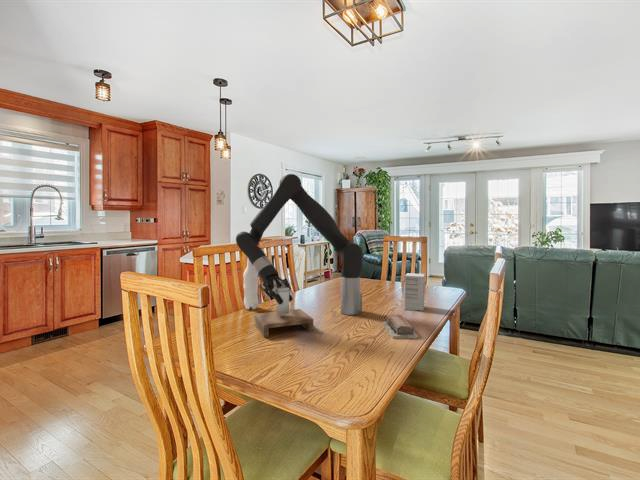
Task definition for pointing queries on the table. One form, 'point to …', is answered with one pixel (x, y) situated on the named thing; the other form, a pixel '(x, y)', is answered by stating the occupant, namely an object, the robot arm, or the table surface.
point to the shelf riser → (282, 320)
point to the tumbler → (284, 295)
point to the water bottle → (250, 286)
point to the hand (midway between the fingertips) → (286, 301)
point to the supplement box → (414, 291)
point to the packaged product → (399, 327)
